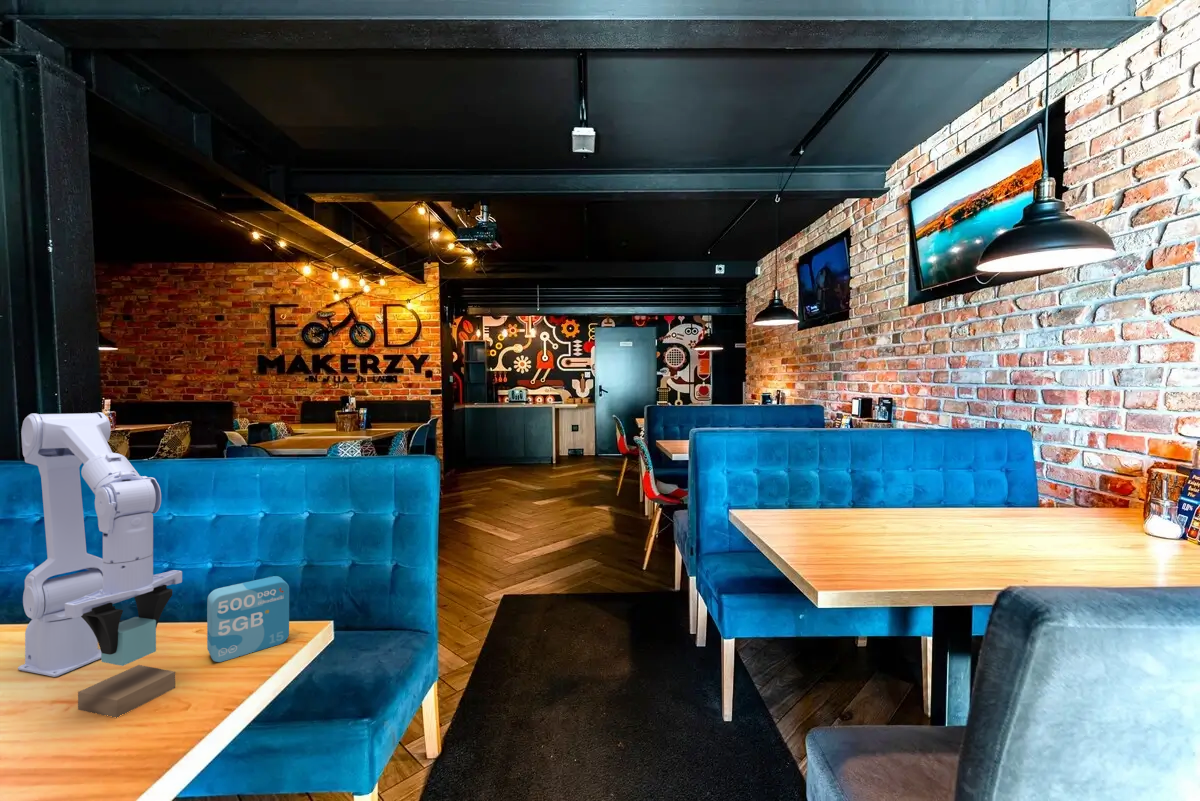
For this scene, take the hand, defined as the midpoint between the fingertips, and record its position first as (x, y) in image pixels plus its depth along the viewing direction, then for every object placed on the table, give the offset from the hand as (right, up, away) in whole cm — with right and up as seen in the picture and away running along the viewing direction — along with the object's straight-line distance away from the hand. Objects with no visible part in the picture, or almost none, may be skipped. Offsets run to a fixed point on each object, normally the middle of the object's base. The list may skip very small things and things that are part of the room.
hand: (128, 644), depth 78 cm
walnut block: (0, -9, 0) cm, 9 cm away
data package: (+8, -9, +16) cm, 19 cm away
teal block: (0, -2, 0) cm, 2 cm away
